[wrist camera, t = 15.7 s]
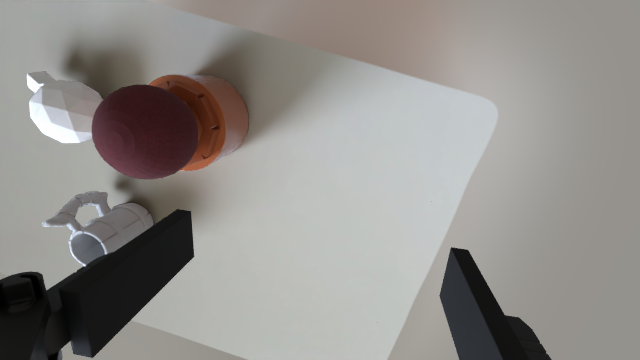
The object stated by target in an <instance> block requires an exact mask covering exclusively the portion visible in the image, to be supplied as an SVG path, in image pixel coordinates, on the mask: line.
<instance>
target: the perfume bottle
mask: <svg viewBox="0 0 640 360" xmlns="http://www.w3.org/2000/svg"><path fill="white" fill-rule="evenodd" d="M27 83H28V87H29V88H30V89H31V90H32V91H33V92H34V93H35V94H34V95H33V97H32V98H31V99H30V101H29V104H30V117H31V118H32V120H33V121H34V122H35V124H36V125H37V126H38V128H39V129H40V130H41V132H42V133H43V134H45V135H47V136H49V137H52V138H54V139H56V140H58V141H60V142H62V143H80V142H83V141H86V140H89V139H92V128H91V127H92V120H93V116H94V113H95V111H96V109H97V107H98V106H99V104H100V103H101V102H102V101H103V99H102V98H101V96H100V94H99V93H98V92H97V91H95V90H93V89H91V88H90V87H88V86H86V85H84V84H83V83H81V82H77V81H66V80H58V81H56V80H55V79H53V78H52V77H51V76H50V75H49V74H48V73H47V72H46V71H42V72H35V73H27Z"/></svg>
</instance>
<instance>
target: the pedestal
mask: <svg viewBox="0 0 640 360" xmlns="http://www.w3.org/2000/svg"><path fill="white" fill-rule="evenodd" d="M149 85H152V86H156V87H160V88H163V89H165V90H167V91H169V92H171V93H173V94H175V95H176V96H177V97H179V98H180V99H181V100H182V101H183V102H184V103H185V104H186V105H187V106H188V107H189V109H190V110H191V112H192V113H193V115H194V117H195V119H196V122H197V126H198V134H199V136H198V145H197V148H196V151H195V153H194V155H193V157H192V158H191V160H190V161H189V162H188V163H187V164H186V166H184V167H183V168H182V169H180V170H185V171H192V170H198V169H201V168H204V167H206V166H208V165H210V164H212V163H213V162H215V161H217V160H219V159H221V158H223V157H225V156H226V155H228V154H230V153H232V152H233V151H235V150H236V149H237V148H238V147H239V146H240V145H241V144H242V143H243V141H244V139H245V137H246V135H247V131H248V126H249V117H248V111H247V107H246V105H245V102H244V100H243V98H242V97H241V95H240V94H239V92H238V91H237V90H236V89H235V88H234V87H233V86H232V85H231V84H229V83H228V82H226V81H224V80H223V79H220V78H218V77H214V76H207V75H167V76H162V77H160V78H157V79H156V80H154V81H152V82H151V83H150V84H149Z"/></svg>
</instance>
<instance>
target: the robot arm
mask: <svg viewBox="0 0 640 360" xmlns="http://www.w3.org/2000/svg"><path fill="white" fill-rule="evenodd" d="M193 257H194V249H193V234H192V219H191V211H187V210H179V209H177V210H176V211H174V212H173V213H171V214H170V215H168V216H167V217H165V218H164V219H162V220H161V221H159V222H158V223H156V224H155V225H153V226H152V227H150V228H149V229H147V230H146V231H144V232H143V233H141V234H140V235H138V236H137V237H135V238H134V239H132V240H131V241H129V242H128V243H126V244H125V245H123V246H122V247H120V248H119V249H117V250H116V251H114V252H110V253H107V254H105V255H102V256H100V257H97V258H96V259H94V260H93V261H91V262H90V263H88V264H87V265H86V266H84V267H82V268H80V269H79V270H77V272H76V273H75V272H74V273H73V274H71V275H70V276H68V277H67V278H65V279H64V280H62V281H60V282H59V283H57V284H56V285H54V286H53V287H51V288H50V289H48V290H47V291H46V288H45V284H44V280H43V276H42V274H40V273H38V272H23V273H18V274H15V275H11V276H8V277H6V278H4V279H1V280H0V360H62V352H61V348H63V347H64V346H65V345H66V344H67V343H68V342H69V341H71V345H72V349H73V353H74V354H77V355H81V356H86V357H91V358H93V357H94V356H95V355H96V354H97V353H98V352H99V351H100V350H101V349H102V348H103V347H104V346H105V345H106V344H107V343H108V342H109V341H110V340H111V339H112V338H113V337H114V336H115V335H116V334H117V333H118V332H119V331H120V330H121V329H122V328H123V327H124V326H125V325H126V324H127V323H128V322H129V321H130V320H131V319H132V318H133V317H134V316H135V315H136V314H137V313H138V312H139V311H140V310H141V309H142V308H143V307H144V306H145V305H146V304H147V303H148V302H149V301H150V300H151V299H152V298H153V297H154V296H155V295H156V294H157V293H158V292H159V291H160V290H161V289H162V288H163V287H164V286H165V285H166V284H167V283H168V282H169V281H170V280H171V279H172V278H173V277H174V276H175V275H176V274H177V273H178V272H179V271H180V270H181V269H182V268H183V267H184V266H185V265H186V264H187V263H188V262H189V261H190V260H191V259H192V258H193ZM440 299H441V302H442V305H443V308H444V311H445V315H446V318H447V321H448V325H449V327H450V331H451V334H452V337H453V341H454V344H455V347H456V350H457V353H458V357H459V360H551V358H550V357H549V355H548V354H546V351H545V349H544V348H543V346H542V344H540V341H539V340H538V338H537V337H536V335H535V333H534V332H533V330H532V329H531V328H530V327H529V326H528V325H527V324H526V323H524V322H523V321H522V320H521V319H520V318H518V317H512V316H506V315H504V313H503V312H502V310H501V308H500V306H499V304H498V302H497V301H496V299H495V297H494V295H493V294H492V292H491V290H490V288H489V286H488V285H487V283H486V281H485V279H484V278H483V276H482V274H481V272H480V271H479V269H478V267H477V265H476V263H475V261H474V260H473V258H472V256H471V255H470V253H469V251H468V250H465V249H458V248H451V250H450V254H449V258H448V262H447V267H446V271H445V276H444V279H443V284H442V288H441V292H440Z"/></svg>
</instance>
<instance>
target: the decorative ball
mask: <svg viewBox="0 0 640 360" xmlns="http://www.w3.org/2000/svg"><path fill="white" fill-rule="evenodd" d="M91 128H92V138H93V142H94V144H95V147H96V149H97V151H98V152H99V154H100V155H101V157H102V158H103V159H104V160H105V161H106V162H107V163H108V164H109V165H110V166H112V167H113V168H114V169H116V170H117V171H119V172H121V173H123V174H125V175H128V176H131V177H135V178H139V179H158V178H163V177H166V176H169V175H172V174H174V173H176V172H177V171H179V170H180V169H182V168H183V167H184V166H186V164H187V163H188V162H189V161H190V160H191V158H192V157H193V155H194V153H195V151H196V148H197V145H198V136H199V134H198V126H197V122H196V119H195V117H194V115H193V113H192V112H191V110H190V109H189V107H188V106H187V105H186V104H185V103H184V102H183V101H182V100H181V99H180V98H179V97H177V96H176V95H175V94H173V93H171V92H169V91H167V90H165V89H163V88H160V87H156V86H152V85H132V86H127V87H122V88H120V89H118V90H116V91H114V92H113V93H111V94H109V95H108V96H107V97H106V98H104V99H103V101H102V102H101V103H100V104H99V106H98V107H97V109H96V111H95V113H94V116H93V120H92V127H91Z"/></svg>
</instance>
